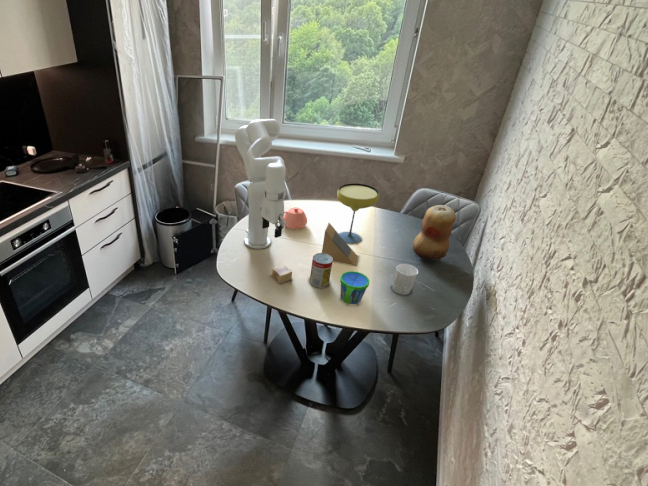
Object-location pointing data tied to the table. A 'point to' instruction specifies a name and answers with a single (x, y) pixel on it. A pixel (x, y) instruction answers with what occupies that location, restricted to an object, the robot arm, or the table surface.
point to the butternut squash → (435, 233)
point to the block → (281, 274)
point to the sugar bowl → (295, 218)
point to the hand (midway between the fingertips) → (271, 232)
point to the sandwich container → (338, 247)
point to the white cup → (404, 278)
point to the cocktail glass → (356, 204)
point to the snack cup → (353, 286)
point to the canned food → (321, 270)
